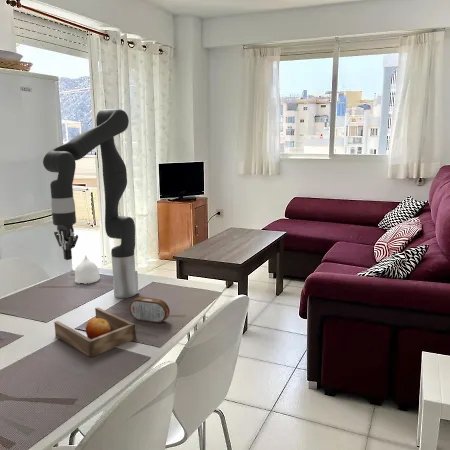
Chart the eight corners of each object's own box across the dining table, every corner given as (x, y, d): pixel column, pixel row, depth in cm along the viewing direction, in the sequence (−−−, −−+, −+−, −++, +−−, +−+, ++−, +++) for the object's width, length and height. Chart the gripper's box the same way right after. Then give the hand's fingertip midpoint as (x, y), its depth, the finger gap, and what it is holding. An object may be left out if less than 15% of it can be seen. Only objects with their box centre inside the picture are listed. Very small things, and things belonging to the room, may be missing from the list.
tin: (170, 321, 154) (169, 299, 152) (166, 325, 151) (165, 302, 150) (133, 316, 159) (132, 294, 157) (128, 320, 156) (127, 297, 154)
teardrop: (90, 274, 209) (88, 250, 207) (104, 278, 203) (103, 254, 200) (70, 281, 200) (67, 256, 198) (85, 285, 194) (83, 259, 191)
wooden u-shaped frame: (99, 320, 156) (98, 307, 155) (136, 338, 141) (135, 324, 140) (55, 335, 144) (54, 321, 143) (90, 357, 129) (89, 341, 128)
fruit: (83, 330, 144) (94, 310, 143) (104, 340, 146) (115, 321, 145) (77, 341, 136) (89, 320, 135) (100, 352, 138) (112, 331, 137)
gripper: (83, 211, 146) (87, 260, 150) (64, 207, 155) (68, 253, 159) (62, 214, 141) (67, 265, 144) (44, 210, 150) (48, 258, 153)
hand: (68, 259), depth 151 cm, fingers closed
